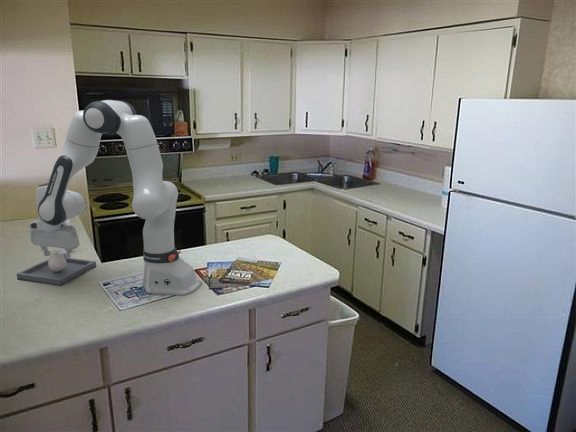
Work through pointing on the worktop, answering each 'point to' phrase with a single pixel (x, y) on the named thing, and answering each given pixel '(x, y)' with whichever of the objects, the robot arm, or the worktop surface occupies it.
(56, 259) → the egg
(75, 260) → the tray
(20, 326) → the worktop surface
